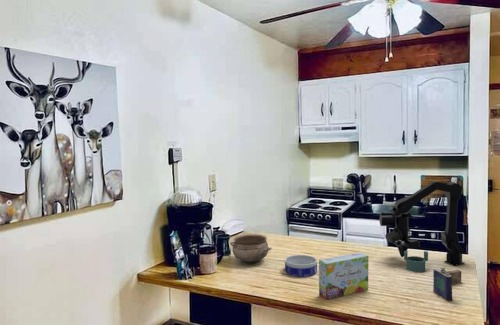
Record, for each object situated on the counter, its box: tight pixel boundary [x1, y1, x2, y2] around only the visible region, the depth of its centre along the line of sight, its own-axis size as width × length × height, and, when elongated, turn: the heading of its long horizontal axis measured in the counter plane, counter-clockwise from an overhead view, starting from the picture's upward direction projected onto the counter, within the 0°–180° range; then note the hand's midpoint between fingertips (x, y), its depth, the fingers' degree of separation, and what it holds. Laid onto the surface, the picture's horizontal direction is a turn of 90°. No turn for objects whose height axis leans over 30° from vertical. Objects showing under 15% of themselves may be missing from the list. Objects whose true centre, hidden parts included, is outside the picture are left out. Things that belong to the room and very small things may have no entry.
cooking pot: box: [229, 233, 273, 265], centre depth 200 cm, size 25×19×12 cm
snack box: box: [318, 252, 369, 301], centre depth 157 cm, size 21×6×15 cm, turn 114°
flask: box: [432, 267, 453, 302], centre depth 151 cm, size 10×3×12 cm, turn 8°
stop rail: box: [446, 269, 462, 285], centre depth 163 cm, size 12×2×5 cm, turn 107°
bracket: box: [403, 250, 429, 273], centre depth 181 cm, size 9×9×9 cm
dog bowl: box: [284, 254, 318, 278], centre depth 183 cm, size 15×15×6 cm
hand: (402, 256), depth 190 cm, fingers closed
